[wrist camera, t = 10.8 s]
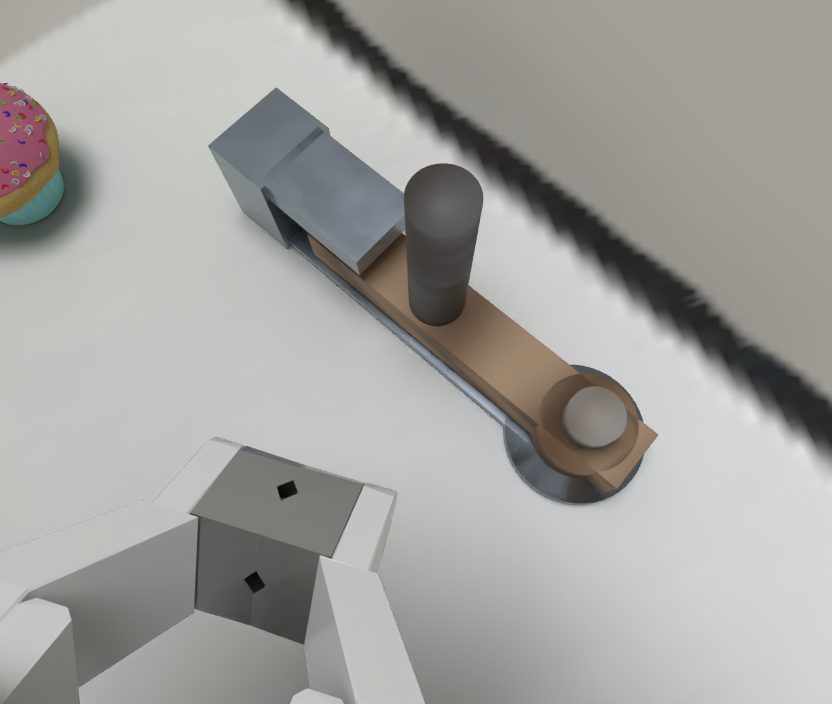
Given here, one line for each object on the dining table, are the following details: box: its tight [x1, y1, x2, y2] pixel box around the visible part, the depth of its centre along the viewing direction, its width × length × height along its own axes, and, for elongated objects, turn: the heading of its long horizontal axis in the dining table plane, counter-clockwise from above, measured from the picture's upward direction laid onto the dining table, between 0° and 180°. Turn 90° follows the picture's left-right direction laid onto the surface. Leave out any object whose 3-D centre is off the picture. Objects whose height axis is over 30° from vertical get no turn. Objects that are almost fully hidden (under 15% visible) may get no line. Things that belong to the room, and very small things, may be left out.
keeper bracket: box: [208, 88, 644, 504], centre depth 33 cm, size 28×8×6 cm, turn 48°
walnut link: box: [307, 164, 658, 493], centre depth 28 cm, size 21×5×12 cm, turn 49°
